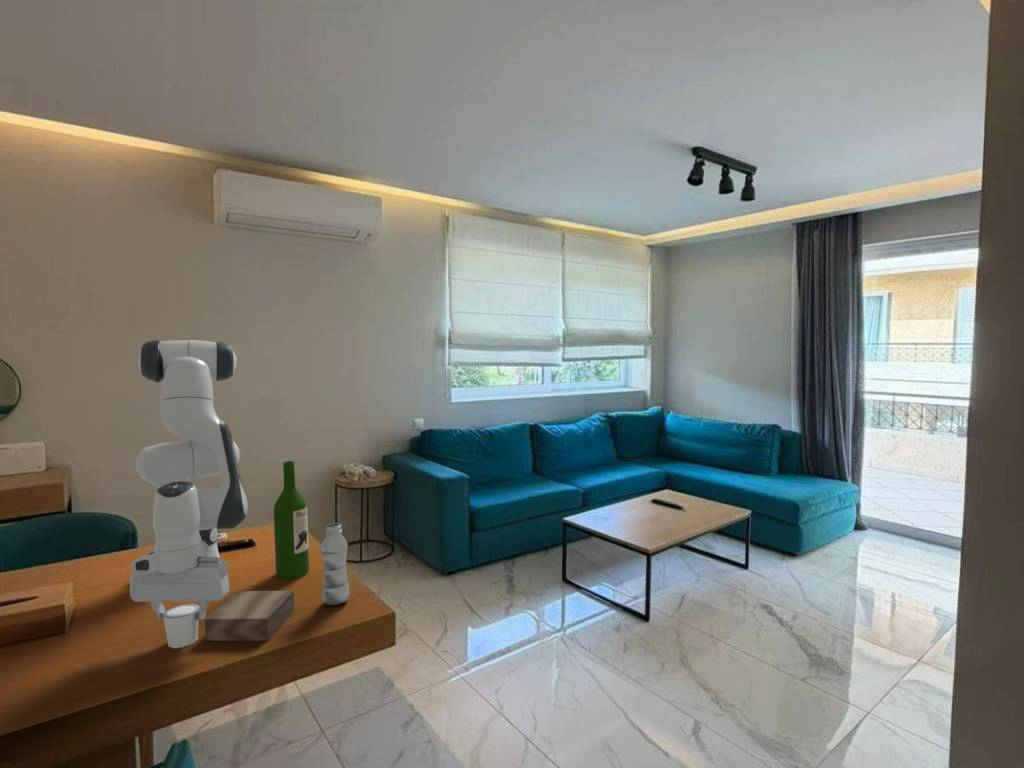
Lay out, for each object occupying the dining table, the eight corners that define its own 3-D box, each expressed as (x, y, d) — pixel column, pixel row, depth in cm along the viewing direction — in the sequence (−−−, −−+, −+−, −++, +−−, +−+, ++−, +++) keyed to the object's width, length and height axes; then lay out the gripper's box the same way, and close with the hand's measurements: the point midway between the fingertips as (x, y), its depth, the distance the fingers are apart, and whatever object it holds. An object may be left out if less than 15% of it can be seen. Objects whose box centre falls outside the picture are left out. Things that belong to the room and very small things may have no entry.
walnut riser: (205, 641, 119) (204, 619, 119) (238, 611, 133) (237, 591, 133) (268, 640, 119) (267, 618, 118) (294, 610, 133) (293, 590, 132)
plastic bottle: (354, 601, 137) (352, 524, 136) (330, 611, 132) (327, 531, 131) (341, 594, 141) (339, 519, 140) (317, 603, 136) (314, 526, 135)
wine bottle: (296, 580, 150) (292, 465, 149) (269, 577, 153) (264, 464, 151) (315, 568, 159) (311, 459, 157) (289, 565, 161) (285, 458, 159)
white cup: (203, 630, 123) (202, 601, 123) (197, 645, 117) (196, 614, 117) (168, 637, 121) (167, 606, 120) (161, 652, 114) (159, 620, 114)
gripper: (233, 551, 121) (236, 611, 122) (143, 552, 121) (146, 612, 122) (218, 562, 115) (220, 625, 115) (123, 563, 115) (126, 626, 116)
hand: (182, 618), depth 119 cm, fingers closed on white cup, 7 cm apart
